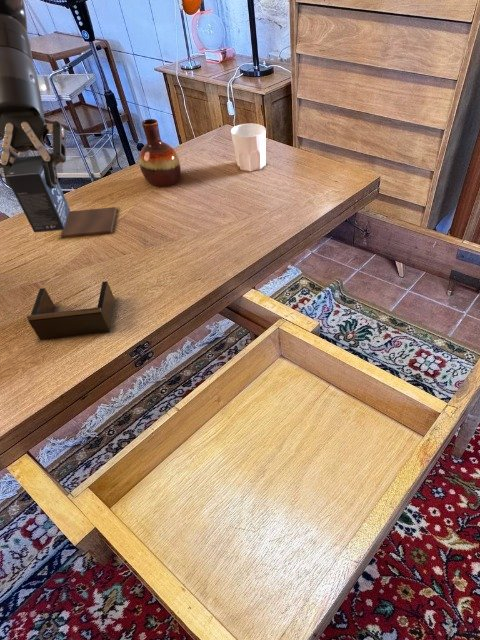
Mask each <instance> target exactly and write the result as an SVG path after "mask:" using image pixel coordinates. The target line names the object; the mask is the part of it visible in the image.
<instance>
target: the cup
mask: <svg viewBox="0 0 480 640" xmlns="http://www.w3.org/2000/svg"><path fill="white" fill-rule="evenodd" d="M230 136H231V140H232V145H233V149H234V155H235V159H236V165H237V166H238V167H239V168H240V171H248V172H250V173H251V172H253V171H257V170H258V171H259V170H262V168H264V166H267V165H266V164H267V159H266V158H267V153H266V152H267V151H266V149H267V146H266V145H267V143H266V142H267V129H266V127H265V126H264V125H262V124H258V123H240V124H237V125H235V126H233V127H232V128H231V129H230Z"/></svg>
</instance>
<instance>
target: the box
mask: <svg viewBox="0 0 480 640" xmlns="http://www.w3.org/2000/svg"><path fill="white" fill-rule="evenodd" d="M43 163H45V161H44V159H43V158H42V156H41V155H29V156H28V155H27V156H20V157H18V158H17V159H16V160H15V161H14V162H13V164H12V166H11V168H10V170H9V172H8V173H7V175H6V178H7V180H8V182H9V184H10V186H11V188H12V189H11V188H10V189H11V190H12V192H13V193H14V196H15V197H16V200H17V201H18V204H19V206H20V208H21V210H22V211H23V213H24V215H25V217H26V219H27V221H28V223H29V225H30V227H31V229H32V231H33V233H47V232H57V231H63V230H64V228H65V224H66V221H67V218H68V215H69V212H70V211H71V208H70V206H69V204H68V203H69V202H68V201H67V199H66V196H65V194H64V192H63V189H62V187H61V185H60V183H59V182H58V184H57V185H56V188H50V187H49V186H48V185H47V182H46V176H45V171H44V165H43Z"/></svg>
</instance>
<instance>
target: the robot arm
mask: <svg viewBox="0 0 480 640" xmlns="http://www.w3.org/2000/svg"><path fill="white" fill-rule="evenodd" d="M27 20H28V19H27V12H26V6H25V2H24V0H0V137H1V138H2V143H1V154H0V169H2V170H3V175H4V181H5V184H6V186H7V187H8V188H10V190H12V188H11V186H10V184H9V182H8V180H7V178H6V175H7V173H8V172H9V170H10V168H11V166H12V164H13V162H14V161H15V160H16V159H17V158H18V157H21V153H24V152H27V151H31V152H38V153H39V156H42V158H43V159H44V161H45V163H43V165H44V171H45V176H46V182H47V185H48V186H49V187H50V188H56V185H57V184H58V183H59V176H58V170H57V166H58V164H60V163H63V164H64V163H65V162H66V161H67V130H66V129H65V128H64V127H63V125H62V124H61V123H60V122H59V121H57V120H55V121H53V122H52V123H49V122H47V121H46V119H45V112H44V107H43V101H42V95H41V90H40V84H39V83H40V82H39V79H38V74H37V71H36V69H35V63H34V58H33V53H32V48H31V46H32V45H31V43H30V38H29V36H28V35H29V34H28V21H27ZM48 134H50V135H51V137H52V153H51V151H50V150H49V149H48V146H47V145H46V143H45V140H46V139H47V136H48Z"/></svg>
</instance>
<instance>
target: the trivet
mask: <svg viewBox="0 0 480 640" xmlns="http://www.w3.org/2000/svg"><path fill="white" fill-rule="evenodd" d="M116 214H117V207H115V206H114V207H113V206H112V207H104V208H103V207H102V208H92V209H83V210H82V209H81V210H80V209H79V210H70V212H69V215H68V218H67V221H66V224H65V228H64V230H61V234H60V236H61V239H67V238H69V239H70V238H77V237H88V236H89V237H90V236H98V235H99V236H101V235H108V234H112V233H113V229H114V225H115V220H116Z"/></svg>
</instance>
